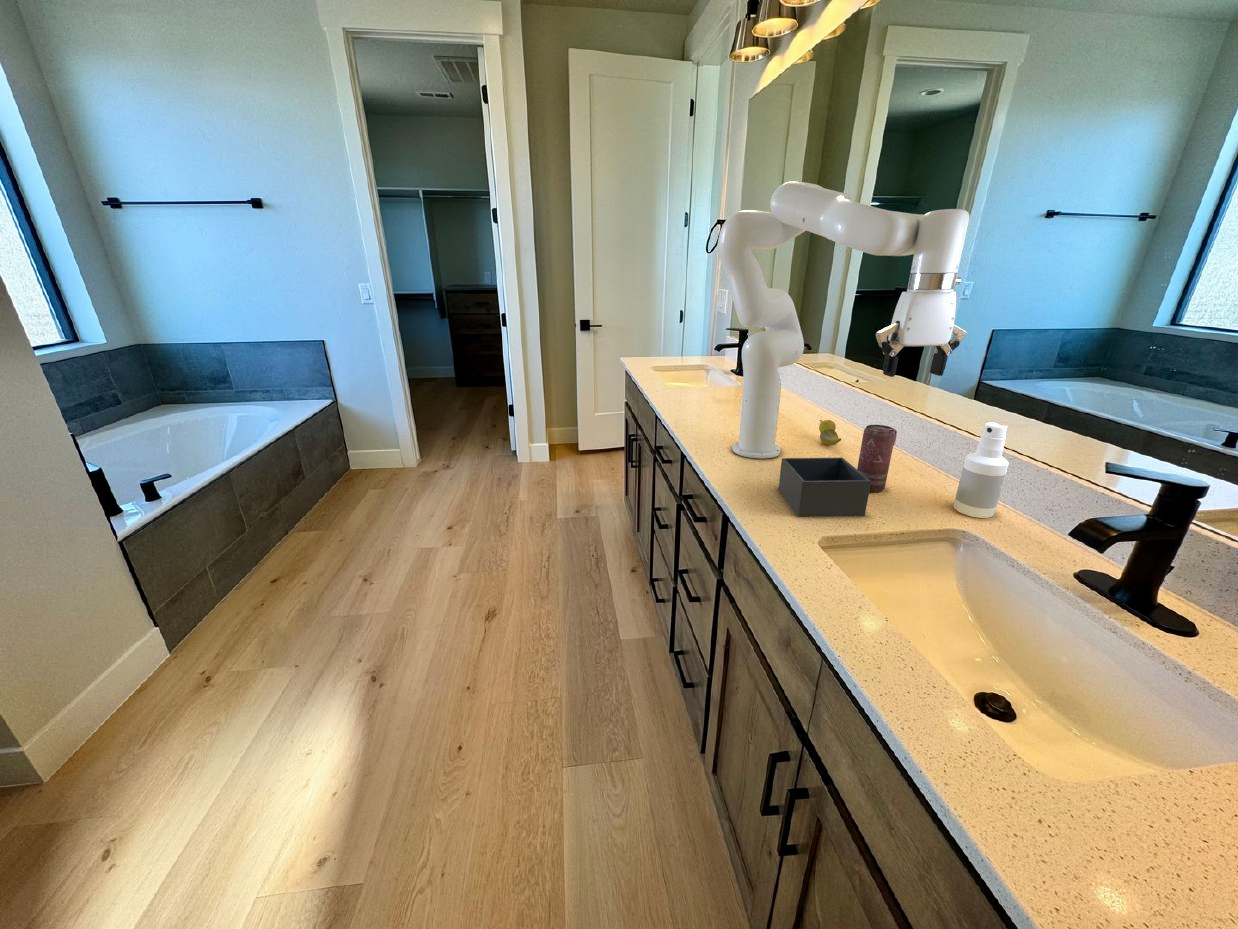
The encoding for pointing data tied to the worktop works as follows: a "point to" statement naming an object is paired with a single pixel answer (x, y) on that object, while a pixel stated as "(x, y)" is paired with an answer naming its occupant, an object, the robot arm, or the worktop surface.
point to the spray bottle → (983, 474)
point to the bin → (823, 487)
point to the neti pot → (828, 432)
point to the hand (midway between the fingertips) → (912, 375)
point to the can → (876, 455)
